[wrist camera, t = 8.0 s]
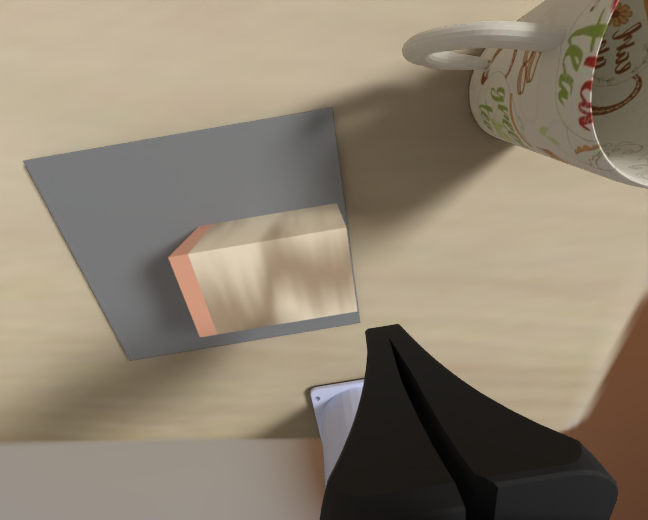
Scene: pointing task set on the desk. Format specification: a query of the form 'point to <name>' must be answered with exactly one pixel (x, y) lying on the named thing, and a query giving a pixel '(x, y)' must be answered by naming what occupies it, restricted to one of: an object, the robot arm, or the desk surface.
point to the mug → (558, 81)
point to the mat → (183, 215)
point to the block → (266, 270)
